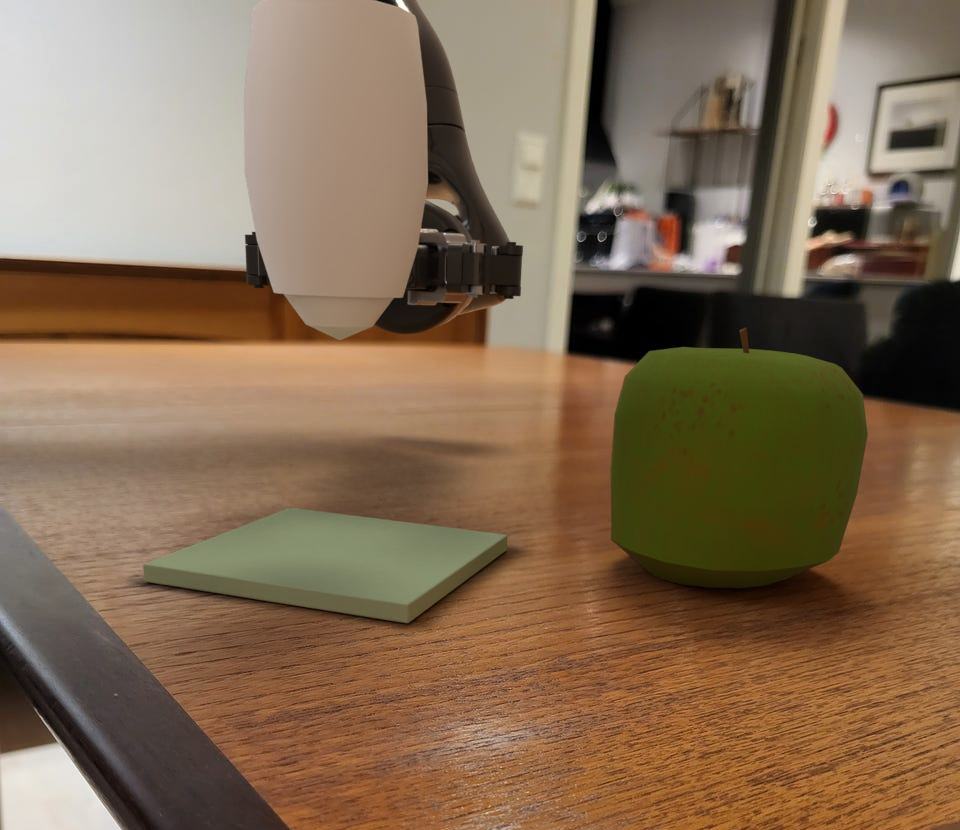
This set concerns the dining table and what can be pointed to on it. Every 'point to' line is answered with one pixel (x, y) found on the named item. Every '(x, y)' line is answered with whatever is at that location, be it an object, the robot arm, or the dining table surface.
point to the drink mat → (333, 563)
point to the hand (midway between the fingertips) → (363, 264)
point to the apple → (734, 464)
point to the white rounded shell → (336, 155)
